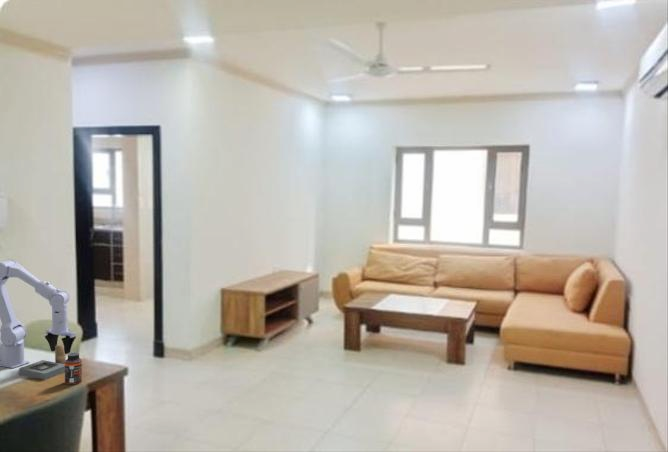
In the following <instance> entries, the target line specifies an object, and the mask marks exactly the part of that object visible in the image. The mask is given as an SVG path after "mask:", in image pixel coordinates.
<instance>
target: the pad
mask: <svg viewBox="0 0 668 452" xmlns="http://www.w3.org/2000/svg"><path fill="white" fill-rule="evenodd" d="M47 367H50V366H48V365H43V366H40V367H37V368H40V369H45V368H47Z"/></svg>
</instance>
